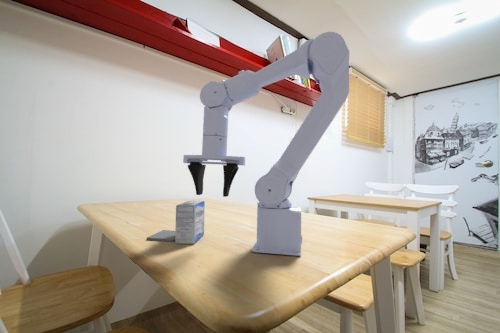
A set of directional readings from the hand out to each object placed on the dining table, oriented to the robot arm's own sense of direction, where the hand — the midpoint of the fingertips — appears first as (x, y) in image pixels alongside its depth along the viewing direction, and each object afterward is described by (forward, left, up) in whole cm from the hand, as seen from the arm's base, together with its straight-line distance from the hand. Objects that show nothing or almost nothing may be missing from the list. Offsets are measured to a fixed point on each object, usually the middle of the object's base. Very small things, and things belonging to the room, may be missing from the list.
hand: (212, 195), depth 52 cm
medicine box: (+5, 0, -11) cm, 12 cm away
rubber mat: (+11, 0, -10) cm, 15 cm away
